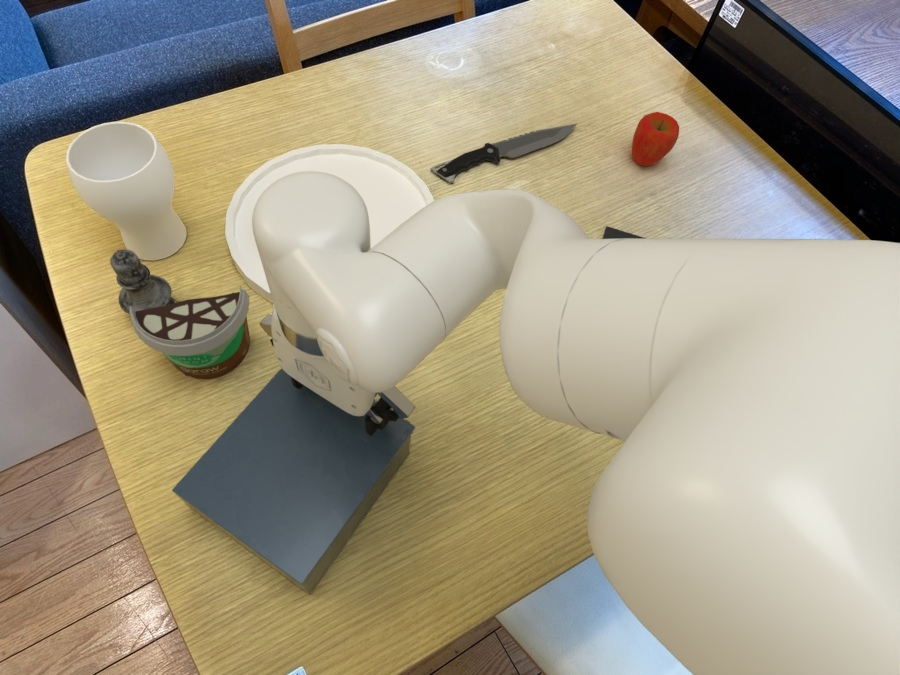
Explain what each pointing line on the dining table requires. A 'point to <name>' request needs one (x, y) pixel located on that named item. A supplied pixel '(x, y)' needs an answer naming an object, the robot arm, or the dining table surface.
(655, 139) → the apple
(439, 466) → the dining table surface
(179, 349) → the food container
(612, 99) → the dining table surface
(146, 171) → the cup
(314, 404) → the lid
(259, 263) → the plate
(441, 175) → the knife
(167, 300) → the chess piece
